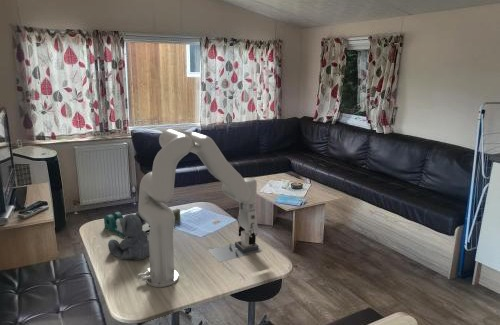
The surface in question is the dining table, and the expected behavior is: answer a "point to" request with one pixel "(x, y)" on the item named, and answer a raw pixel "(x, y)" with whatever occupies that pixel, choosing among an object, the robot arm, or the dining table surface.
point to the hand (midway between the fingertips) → (246, 239)
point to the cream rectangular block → (245, 239)
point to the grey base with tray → (233, 251)
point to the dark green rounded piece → (113, 222)
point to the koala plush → (130, 238)
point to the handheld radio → (176, 214)
